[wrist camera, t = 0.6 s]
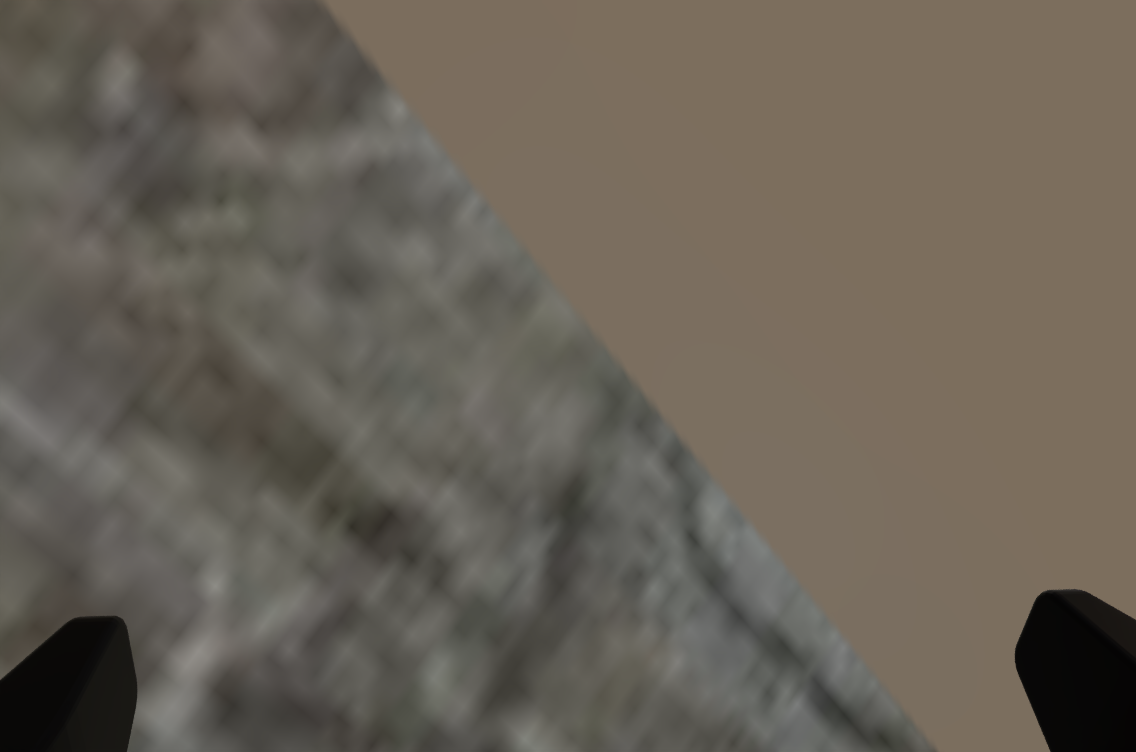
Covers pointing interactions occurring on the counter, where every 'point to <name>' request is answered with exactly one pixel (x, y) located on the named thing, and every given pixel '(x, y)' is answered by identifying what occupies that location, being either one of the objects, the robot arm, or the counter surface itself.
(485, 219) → the counter surface
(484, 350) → the counter surface
